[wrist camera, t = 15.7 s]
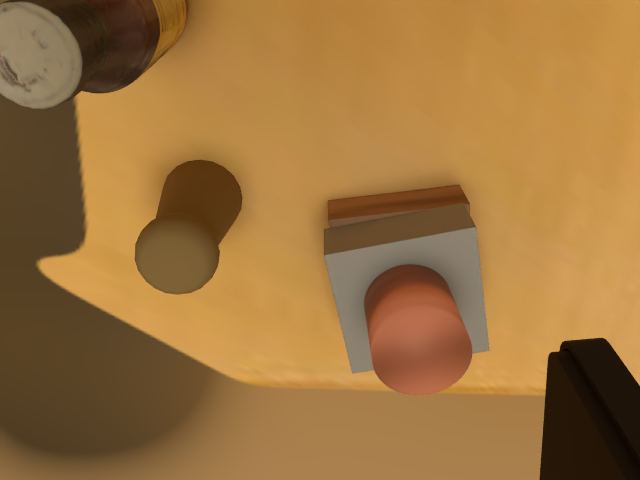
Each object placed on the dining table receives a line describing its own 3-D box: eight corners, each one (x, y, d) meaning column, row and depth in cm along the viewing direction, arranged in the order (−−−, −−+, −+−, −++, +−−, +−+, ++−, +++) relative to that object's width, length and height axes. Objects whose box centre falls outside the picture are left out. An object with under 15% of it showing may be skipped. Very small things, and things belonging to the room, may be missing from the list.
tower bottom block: (328, 198, 47) (328, 220, 44) (458, 183, 47) (469, 203, 43) (342, 307, 52) (344, 335, 48) (461, 294, 51) (472, 321, 48)
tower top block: (324, 229, 44) (324, 255, 41) (463, 202, 43) (476, 226, 40) (349, 341, 48) (352, 373, 45) (476, 319, 48) (489, 350, 44)
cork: (251, 174, 46) (233, 239, 36) (230, 242, 49) (207, 320, 39) (172, 149, 45) (131, 209, 35) (155, 220, 48) (112, 294, 38)
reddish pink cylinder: (357, 273, 41) (363, 323, 36) (446, 256, 41) (466, 304, 35) (372, 346, 44) (380, 402, 38) (456, 331, 43) (476, 386, 38)
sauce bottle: (102, 51, 42) (-57, 136, 24) (91, -50, 39) (-97, -37, 21) (198, 55, 42) (110, 143, 24) (194, -45, 39) (91, -28, 22)
